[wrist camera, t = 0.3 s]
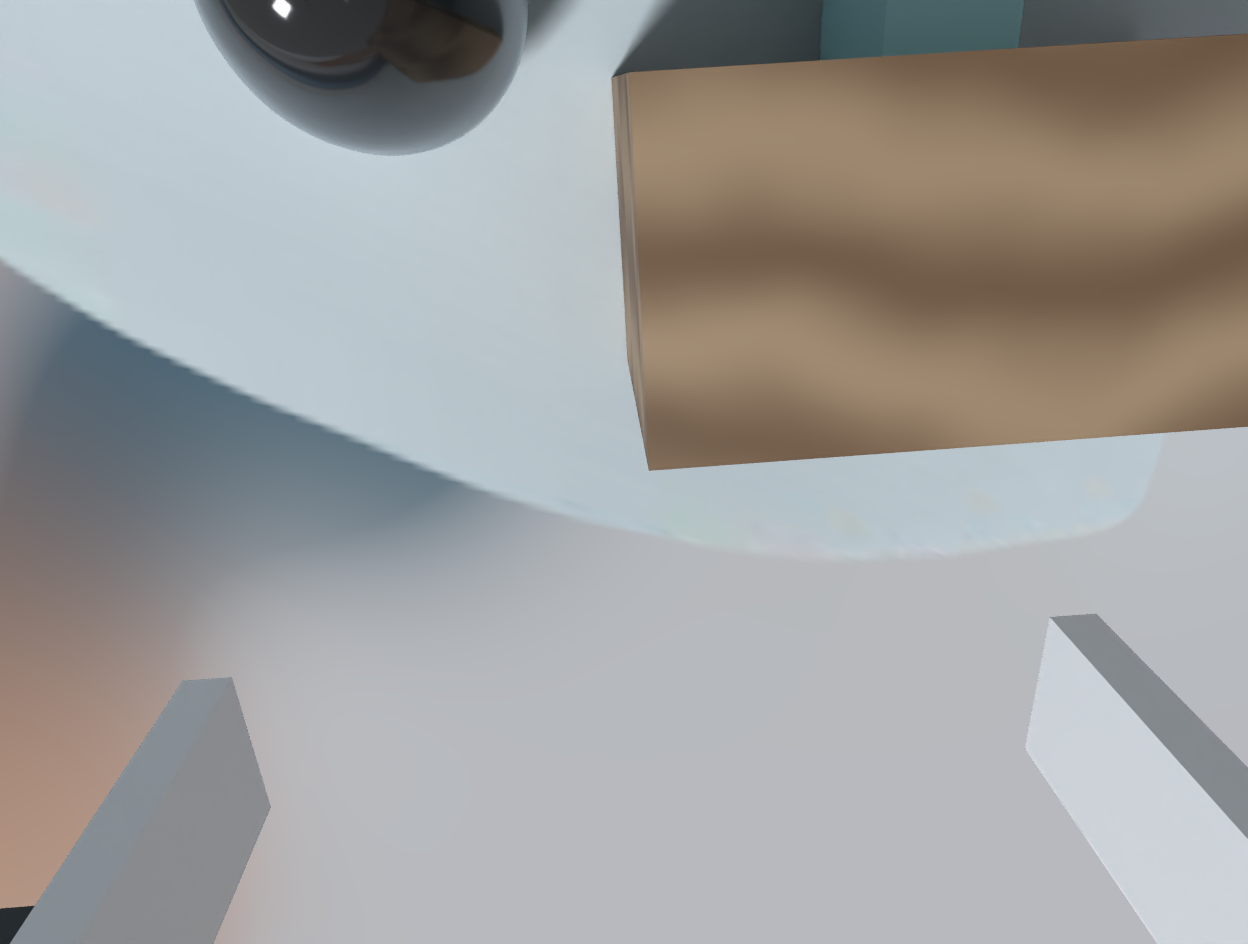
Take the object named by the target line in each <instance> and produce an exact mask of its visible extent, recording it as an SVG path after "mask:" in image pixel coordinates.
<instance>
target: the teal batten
mask: <svg viewBox="0 0 1248 944" xmlns="http://www.w3.org/2000/svg"><path fill="white" fill-rule="evenodd" d="M1024 1H1025V0H823V8H822V27H821V47H820V60H834V59H850V58H866V57H882V56H898V55H914V54H930V53H946V52H962V51H978V50H995V49H1011V48H1018V44H1019V37H1020V30H1021V23H1022V15H1023V8H1024Z"/></svg>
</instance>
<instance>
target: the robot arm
mask: <svg viewBox="0 0 1248 944" xmlns="http://www.w3.org/2000/svg"><path fill="white" fill-rule="evenodd" d="M1025 749H1026V751H1027V752H1028V754H1029V755H1030V757H1031V758H1032V760H1033V761H1034V763H1035V764H1036V766H1037V767H1038V768H1039V770H1040V772H1041V773H1042V774H1043V776H1044V777H1045V779H1046V780H1047V782H1048V783H1049V785H1050V786H1051V788H1052V789H1053V791H1054V792H1055V794H1056V795H1057V797H1058V798H1059V800H1060V801H1061V803H1062V804H1063V805H1064V807H1065V808H1066V810H1067V811H1068V813H1069V814H1070V816H1071V817H1072V819H1073V820H1074V822H1075V823H1076V824H1077V826H1078V828H1079V829H1080V831H1081V832H1082V833H1083V835H1084V836H1085V838H1086V839H1087V841H1088V842H1089V844H1090V845H1091V847H1092V848H1093V850H1094V851H1095V853H1096V854H1097V855H1098V857H1099V859H1100V860H1101V862H1102V863H1103V864H1104V866H1105V867H1106V869H1107V870H1108V872H1109V873H1110V875H1111V876H1112V878H1113V879H1114V881H1115V882H1116V884H1117V885H1118V886H1119V888H1120V890H1121V891H1122V892H1123V894H1124V895H1125V897H1126V898H1127V900H1128V901H1129V903H1130V904H1131V906H1132V907H1133V909H1134V910H1135V912H1136V913H1137V915H1138V916H1139V918H1140V919H1141V921H1142V922H1143V923H1144V925H1145V926H1146V928H1147V929H1148V931H1149V932H1150V934H1151V935H1152V937H1153V938H1154V940H1155V941H1156V943H1157V944H1248V767H1247V766H1246V765H1245V764H1244V763H1243V762H1242V761H1241V760H1240V759H1239V758H1238V757H1237V756H1236V755H1235V754H1234V753H1233V752H1232V751H1231V750H1230V749H1229V748H1228V747H1227V746H1226V745H1225V744H1224V743H1223V742H1222V741H1221V740H1220V739H1219V738H1218V737H1217V736H1216V735H1215V734H1214V733H1213V732H1212V731H1211V730H1210V729H1209V728H1208V727H1207V726H1206V725H1205V724H1204V723H1203V722H1202V721H1201V720H1200V719H1199V718H1198V717H1197V716H1196V715H1195V713H1194V712H1193V711H1192V710H1190V709H1189V707H1188V706H1187V705H1186V704H1184V702H1183V701H1182V700H1181V699H1180V698H1179V697H1178V696H1177V695H1176V694H1175V693H1174V692H1173V691H1172V690H1171V689H1170V688H1169V687H1168V686H1167V685H1166V684H1165V683H1164V682H1163V681H1162V680H1161V679H1160V678H1159V677H1158V676H1157V675H1156V674H1155V673H1154V672H1153V671H1152V670H1151V669H1150V668H1149V667H1148V666H1147V665H1146V664H1145V663H1144V662H1143V661H1142V660H1141V659H1140V658H1139V657H1138V656H1137V655H1136V654H1135V653H1134V652H1133V651H1132V650H1131V649H1130V648H1129V646H1128V645H1127V644H1126V643H1125V642H1124V641H1123V640H1122V639H1121V638H1120V637H1119V636H1118V635H1117V634H1116V633H1115V632H1114V631H1113V630H1112V629H1111V628H1110V627H1109V626H1108V625H1107V624H1106V623H1105V622H1104V621H1103V620H1102V619H1101V618H1100V617H1099V616H1098V615H1097V614H1086V615H1072V616H1059V617H1050V619H1049V624H1048V629H1047V635H1046V640H1045V646H1044V650H1043V656H1042V661H1041V666H1040V671H1039V677H1038V682H1037V687H1036V693H1035V698H1034V703H1033V708H1032V714H1031V720H1030V724H1029V730H1028V735H1027V740H1026V745H1025ZM270 808H271V807H270V803H269V800H268V796H267V793H266V790H265V786H264V783H263V780H262V776H261V773H260V770H259V766H258V763H257V760H256V756H255V753H254V750H253V747H252V743H251V740H250V736H249V733H248V730H247V726H246V723H245V720H244V716H243V713H242V710H241V706H240V703H239V700H238V697H237V694H236V690H235V686H234V683H233V680H232V677H228V678H215V679H201V680H188V681H182V683H181V684H180V686H179V687H178V689H177V690H176V692H175V693H174V695H173V696H172V698H171V699H170V701H169V703H168V704H167V705H166V707H165V708H164V710H163V712H162V713H161V715H160V716H159V718H158V719H157V721H156V723H155V724H154V726H153V727H152V728H151V730H150V732H149V733H148V734H147V736H146V737H145V739H144V740H143V742H142V743H141V745H140V747H139V748H138V750H137V751H136V753H135V754H134V756H133V757H132V759H131V760H130V762H129V763H128V765H127V766H126V768H125V769H124V771H123V772H122V774H121V775H120V777H119V778H118V780H117V782H116V783H115V785H114V786H113V788H112V789H111V791H110V792H109V794H108V795H107V797H106V798H105V800H104V801H103V803H102V804H101V806H100V807H99V809H98V811H97V812H96V813H95V815H94V816H93V818H92V820H91V821H90V823H89V824H88V826H87V827H86V829H85V830H84V832H83V833H82V835H81V836H80V838H79V839H78V841H77V843H76V844H75V846H74V847H73V848H72V850H71V851H70V853H69V855H68V856H67V858H66V859H65V861H64V862H63V864H62V865H61V867H60V868H59V870H58V872H57V873H56V874H55V876H54V877H53V879H52V881H51V882H50V883H49V885H48V887H47V888H46V890H45V891H44V893H43V894H42V896H41V897H40V899H39V900H38V902H37V903H36V905H35V906H27V907H15V908H2V909H0V944H213V943H214V941H215V938H216V936H217V934H218V931H219V929H220V926H221V924H222V922H223V919H224V917H225V915H226V912H227V910H228V908H229V905H230V903H231V900H232V898H233V895H234V893H235V891H236V889H237V886H238V884H239V881H240V879H241V877H242V874H243V872H244V869H245V867H246V865H247V862H248V860H249V857H250V855H251V852H252V850H253V848H254V846H255V843H256V841H257V839H258V836H259V834H260V831H261V829H262V827H263V824H264V822H265V820H266V817H267V815H268V812H269V810H270Z"/></svg>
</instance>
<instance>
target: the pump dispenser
mask: <svg viewBox="0 0 1248 944" xmlns="http://www.w3.org/2000/svg"><path fill="white" fill-rule="evenodd" d="M194 2H195V5H196V7H197V10H198V12H199V15H200V17H201V19H202V21H203V23H204V25H205V27H206V29H207V31H208V33H209V35H210V36H211V38H212V40H213V42H214V43H215V45H216V47H217V48H218V50H219V51H220V53H221V54H222V56H223V57H224V59H225V60H226V61H227V63H228V64H229V66H230V67H231V68H232V69H233V71H234V72H235V73H236V75H237V76H238V77H239V78H240V79H241V80H242V82H243V83H244V84H245V85H246V86H247V87H248V88H249V89H250V90H251V91H252V92H253V93H254V94H255V95H256V96H257V97H258V98H259V99H260V100H261V101H262V102H263V103H264V104H265V105H266V106H268V107H269V108H270V109H271V110H272V111H274V112H275V113H276V114H278V115H279V116H280V117H282V118H283V119H285V120H286V121H287V122H289V123H291V124H292V125H294V126H295V127H297V128H299V129H300V130H302V131H304V132H306V133H308V134H310V135H312V136H314V137H316V138H318V139H321V140H323V141H325V142H328V143H331V144H333V145H336V146H339V147H343V148H346V149H349V150H353V151H357V152H362V153H367V154H374V155H387V156H399V155H410V154H417V153H422V152H426V151H430V150H433V149H436V148H439V147H442V146H444V145H447V144H449V143H451V142H453V141H455V140H457V139H459V138H460V137H462V136H464V135H465V134H467V133H468V132H470V131H471V130H472V129H474V128H475V127H476V126H477V125H479V124H480V123H481V122H482V121H483V120H484V119H485V118H486V117H487V116H488V115H489V114H490V113H491V112H492V111H493V110H494V108H495V107H496V106H497V105H498V103H499V102H500V100H501V99H502V98H503V96H504V95H505V93H506V91H507V90H508V88H509V86H510V84H511V82H512V80H513V78H514V76H515V74H516V71H517V69H518V66H519V63H520V60H521V57H522V53H523V49H524V45H525V40H526V34H527V25H528V0H194Z"/></svg>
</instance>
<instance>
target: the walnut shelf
mask: <svg viewBox="0 0 1248 944" xmlns="http://www.w3.org/2000/svg"><path fill="white" fill-rule="evenodd" d="M612 94H613V112H614V129H615V147H616V164H617V182H618V199H619V217H620V234H621V252H622V269H623V287H624V304H625V322H626V339H627V357H628V365H629V370H630V375H631V380H632V386H633V391H634V396H635V401H636V406H637V411H638V417H639V422H640V427H641V432H642V437H643V442H644V448H645V453H646V458H647V463H648V468H649V471H651V470H664V469H678V468H691V467H705V466H719V465H732V464H746V463H759V462H773V461H787V460H800V459H814V458H827V457H841V456H855V455H868V454H882V453H895V452H909V451H922V450H936V449H950V448H963V447H977V446H990V445H1004V444H1018V443H1031V442H1045V441H1058V440H1072V439H1085V438H1099V437H1113V436H1126V435H1140V434H1153V433H1167V432H1181V431H1194V430H1207V429H1221V428H1235V427H1248V34H1236V35H1220V36H1204V37H1188V38H1172V39H1155V40H1139V41H1123V42H1107V43H1091V44H1075V45H1059V46H1043V47H1027V48H1011V49H995V50H978V51H962V52H946V53H930V54H914V55H898V56H882V57H866V58H850V59H834V60H818V61H801V62H785V63H769V64H753V65H737V66H721V67H705V68H689V69H673V70H657V71H641V72H628V73H625V74H622V75H619V76H615V77H612Z"/></svg>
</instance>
